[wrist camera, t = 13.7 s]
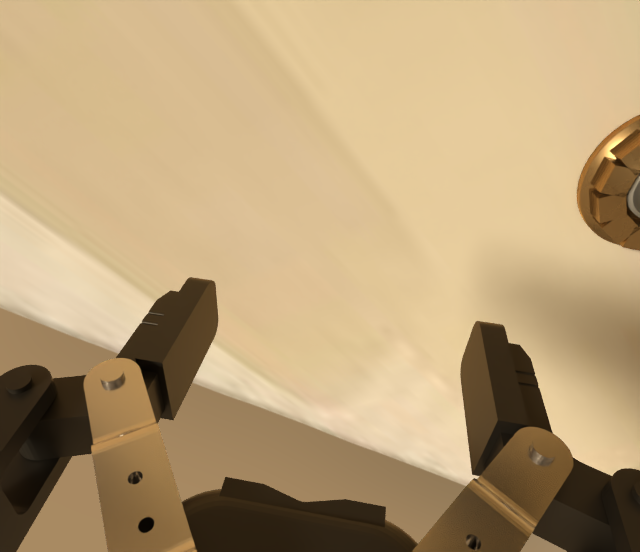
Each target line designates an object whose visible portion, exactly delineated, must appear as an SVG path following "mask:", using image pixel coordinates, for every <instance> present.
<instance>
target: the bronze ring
mask: <svg viewBox="0 0 640 552" xmlns="http://www.w3.org/2000/svg"><path fill="white" fill-rule="evenodd" d="M639 173H640V115H638V116H636V117H634V118H632V119H631V120H629V121H627V122H626V123H624V124H622V125H621V126H620V127H618V128H617V129H616V130H614V131H613V132H612V133H611V134H610V135H608V136H607V137H606V138H605V139H604V140H603V141H602V142H601V143H600V144H599V145H598V147H597V148H596V149H595V150H594V152H593V153H592V154H591V156H590V157H589V159H588V161H587V162H586V164H585V166H584V168H583V170H582V173H581V175H580V179H579V182H578V188H577V203H578V208H579V211H580V214H581V216H582V218H583V220H584V221H585V222H586V224H587V225H588V226H589V227H590V228H591V229H592V231H594V232H595V233H596V234H597V235H598V236H600V237H601V238H603V239H605V240H607V241H609V242H612V243H615V244H619V245H621V246H622V247H625V248H630V249H635V250H640V217H638V216H636V215H635V214H634V213H633V212H632V211H631V210H630V209H629V208H628V207H627V205H626V194H627V193H628V191H629V189H630V188H631V186H632V184H633V183H634V181H635V179H636V178H637V176H638V174H639Z"/></svg>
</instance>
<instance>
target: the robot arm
mask: <svg viewBox="0 0 640 552" xmlns="http://www.w3.org/2000/svg"><path fill="white" fill-rule="evenodd" d="M217 326H218V309H217V297H216V286H215V282H214V281H212V280H205V279H199V278H192V277H190V278H188V279H187V281H186V282H185V284H184V285H183V287H182V288H181V290H180V291H179V292H176V291H169V292H168V293H166V294H165V295H164V296H162V297H161V298H159V299H158V300H157V301H156V302H155V303H154V305H153V306H152V308H151V309H150V311H149V313H148V314H147V315H146V316H145V318H144V319H143V320H142V324H141V323H140V325H139V326H138V327H137V329H136V330H135V332H134V333H133V334H132V336H131V337H130V339H129V340H128V342H127V343H126V344H125V346H124V347H123V349H122V350H121V351H120V353H119V354H118V356H117V357H116V358H114V359H109V360H106V361H103V362H101V363H99V364H98V365H96V366H95V367H93V368H92V369H91V370H90V371H89V372H88V374H87V375H83V376H75V377H64V378H54V379H52V376H51V374H50V372H49V371H48V370H47V369H46V368H45V367H42V366H38V365H26V366H21V367H18V368H15V369H12V370H10V371H8V372H6V373H4V374H3V375H2V376H0V552H16V551H17V549H18V548H19V546H20V544H21V542H22V541H23V539H24V537H25V536H26V534H27V532H28V531H29V529H30V527H31V526H32V524H33V522H34V520H35V519H36V517H37V515H38V513H39V512H40V510H41V508H42V507H43V505H44V503H45V501H46V500H47V498H48V496H49V495H50V493H51V491H52V490H53V488H54V486H55V485H56V483H57V481H58V479H59V478H60V476H61V474H62V473H63V471H64V469H65V467H66V466H67V464H68V462H69V461H70V459H71V457H72V456H77V455H85V454H92V457H93V463H94V469H95V476H96V482H97V488H98V494H99V500H100V506H101V512H102V518H103V524H104V530H105V536H106V542H107V549H108V552H520V551H521V549H522V548H523V546H524V545H525V543H526V542H527V540H528V538H529V537H530V535H531V534H532V533H533V534H535V535H537V536H539V537H541V538H543V539H545V540H547V541H549V542H551V543H553V544H554V545H557V546H558V547H560V548H562V549H564V550H566V551H567V552H640V471H639V470H636V469H621V470H618V471H617V472H616V473H614V475H613V476H610V475H608V474H606V473H603V472H601V471H599V470H597V469H594V468H592V467H590V466H588V465H585V464H583V463H581V462H579V461H578V460H576V459H575V458H573V457H572V454H571V452H570V450H569V449H568V447H567V446H566V445H565V443H564V442H563V441H562V440H561V439H560V438H558V437H557V436H556V435H554V434H553V433H552V430H551V426H550V423H549V420H548V416H547V413H546V409H545V406H544V403H543V399H542V396H541V392H540V389H539V388H538V382H537V379H536V376H535V372H534V369H533V365H532V362H531V359H530V357H529V356H528V355H527V354H526V352H525V351H524V350H523V349H522V347H521V346H520V345H517V344H511V343H508V339H507V335H506V331H505V328H504V326H503V325H501V324H494V323H487V322H480V321H477V322H476V323H475V324H474V327H473V329H472V332H471V335H470V338H469V341H468V344H467V346H466V349H465V352H464V355H463V358H462V363H461V385H462V393H463V401H464V410H465V418H466V426H467V435H468V443H469V451H470V460H471V468H472V475H477V476H480V477H479V478H478V479H475V478H474V479H473V480H472V481H471V482H470V483H469V484H468V485H467V486H466V487H465V489H464V490H463V491H462V492H461V493H460V495H459V496H458V497H457V498H456V499H455V501H454V502H453V503H452V504H451V505H450V507H449V508H448V509H447V510H446V511H445V513H444V514H443V515H442V516H441V517H440V518H439V520H438V521H437V522H436V523H435V524H434V526H433V527H432V528H431V529H430V530H429V532H428V533H427V534H426V535H425V536H424V538H423V539H422V540H421V541H420V542H419V544H418V543H417V542H415V540H414V539H413V538H411V536H409V535H408V534H407V533H405V532H404V531H403V530H402V529H400V528H399V527H397V526H396V525H394V524H392V523H391V522H388V521H387V520H385V512H386V507H383V506H378V505H373V504H367V503H362V502H357V501H351V500H346V499H344V500H330V501H317V502H301V501H298V500H296V499H294V498H292V497H290V496H287V495H286V494H283V493H281V492H279V491H277V490H275V489H273V488H271V487H269V486H267V485H264V484H260V483H255V482H249V481H244V480H239V479H233V478H228V477H225V480H224V483H223V486H222V489H218V490H212V491H207V492H203V493H201V494H197V495H195V496H192V497H190V498H188V499H186V500H184V501H183V502H181V498H180V495H179V492H178V488H177V485H176V482H175V479H174V475H173V472H172V469H171V465H170V462H169V459H168V455H167V452H166V449H165V446H164V442H163V439H162V436H161V432H160V429H159V426H158V422H159V420H160V418H164V419H169V420H174V418H175V416H176V414H177V411H178V410H179V407H180V406H181V404H182V401H183V400H184V398H185V396H186V394H187V392H188V389H189V387H190V386H191V384H192V382H193V379H194V377H195V375H196V373H197V371H198V369H199V367H200V365H201V363H202V361H203V359H204V357H205V355H206V353H207V351H208V349H209V347H210V345H211V343H212V341H213V339H214V337H215V334H216V331H217Z"/></svg>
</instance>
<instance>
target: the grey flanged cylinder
mask: <svg viewBox="0 0 640 552" xmlns="http://www.w3.org/2000/svg"><path fill="white" fill-rule="evenodd" d="M626 205H627V207H628V208H629V209H630V210H631V211H632V212H633V213H634V214H635V215H636V216H638V217H640V173H639V174H638V176H637V178H636V179H635V181H634V183H633V184H632V186H631V188H630V189H629V191H628V193H627V194H626Z"/></svg>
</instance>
